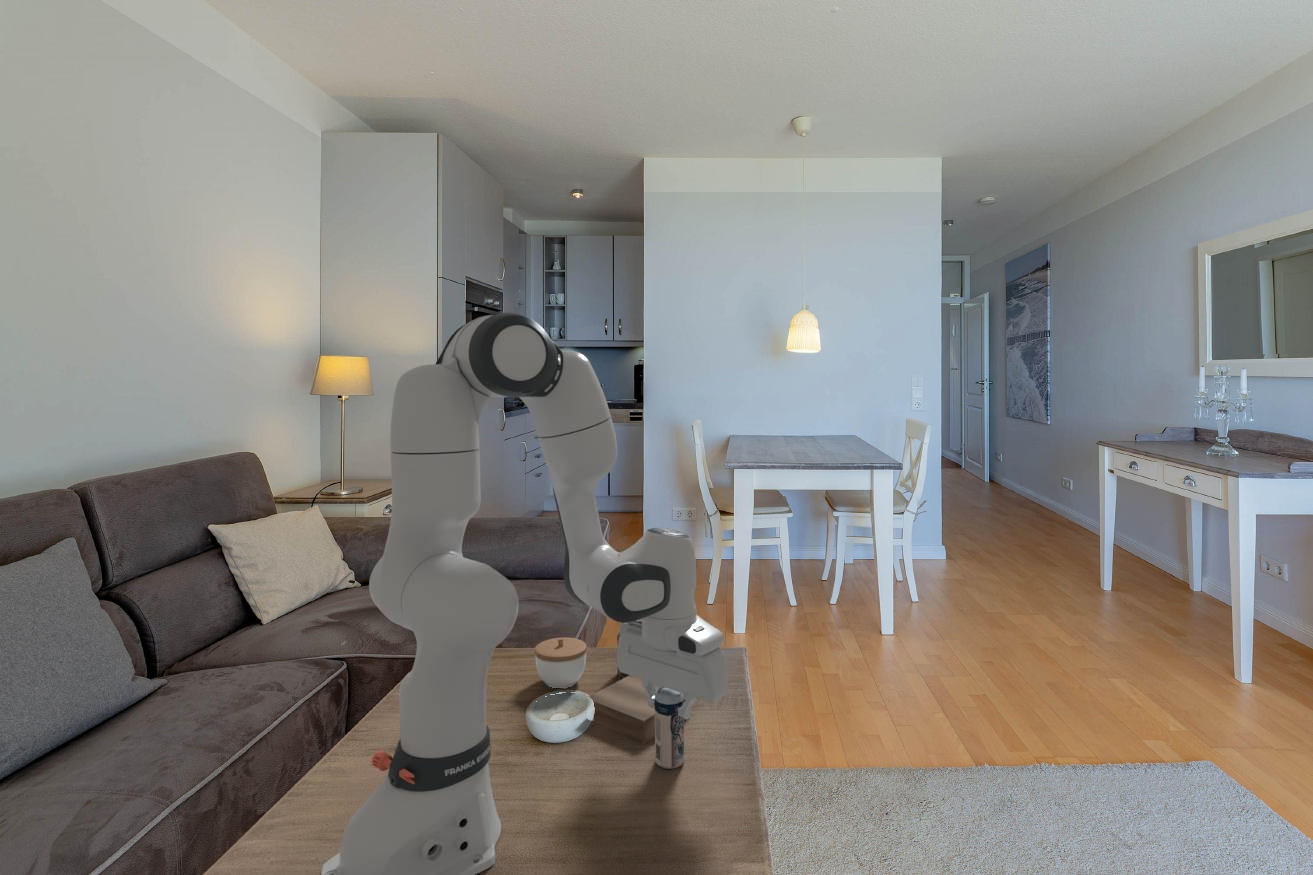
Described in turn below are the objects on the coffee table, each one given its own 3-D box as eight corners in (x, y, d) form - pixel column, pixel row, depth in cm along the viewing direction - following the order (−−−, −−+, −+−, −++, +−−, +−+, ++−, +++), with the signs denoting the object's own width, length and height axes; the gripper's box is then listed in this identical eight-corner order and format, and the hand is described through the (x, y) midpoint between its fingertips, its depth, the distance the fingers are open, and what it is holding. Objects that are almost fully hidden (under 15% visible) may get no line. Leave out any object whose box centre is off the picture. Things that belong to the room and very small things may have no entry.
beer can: (681, 772, 104) (681, 699, 103) (652, 769, 105) (651, 696, 104) (686, 756, 109) (686, 685, 108) (658, 753, 110) (657, 683, 109)
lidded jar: (529, 677, 139) (528, 634, 139) (577, 668, 144) (577, 626, 143) (542, 698, 130) (542, 652, 129) (594, 688, 134) (593, 643, 134)
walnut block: (644, 743, 113) (644, 720, 112) (585, 718, 121) (585, 698, 121) (691, 712, 124) (691, 691, 123) (634, 691, 132) (634, 672, 132)
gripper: (608, 619, 109) (608, 700, 110) (710, 648, 97) (710, 739, 97) (632, 610, 114) (633, 687, 115) (732, 636, 102) (732, 722, 102)
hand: (669, 711), depth 106 cm, fingers closed on beer can, 5 cm apart
